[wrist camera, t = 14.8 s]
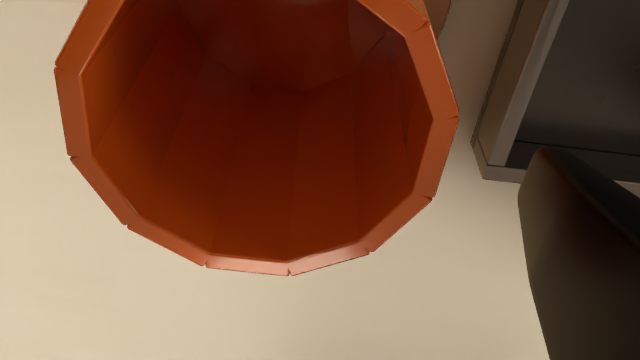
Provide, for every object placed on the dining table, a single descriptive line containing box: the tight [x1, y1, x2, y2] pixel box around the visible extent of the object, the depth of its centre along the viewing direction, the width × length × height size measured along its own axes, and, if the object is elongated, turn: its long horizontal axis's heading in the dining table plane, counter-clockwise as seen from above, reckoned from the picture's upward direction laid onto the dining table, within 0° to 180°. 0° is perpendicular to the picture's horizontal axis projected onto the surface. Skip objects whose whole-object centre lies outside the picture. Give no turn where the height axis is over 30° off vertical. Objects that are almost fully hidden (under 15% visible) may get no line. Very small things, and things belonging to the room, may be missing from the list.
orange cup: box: [54, 0, 459, 276], centre depth 12 cm, size 6×6×7 cm
